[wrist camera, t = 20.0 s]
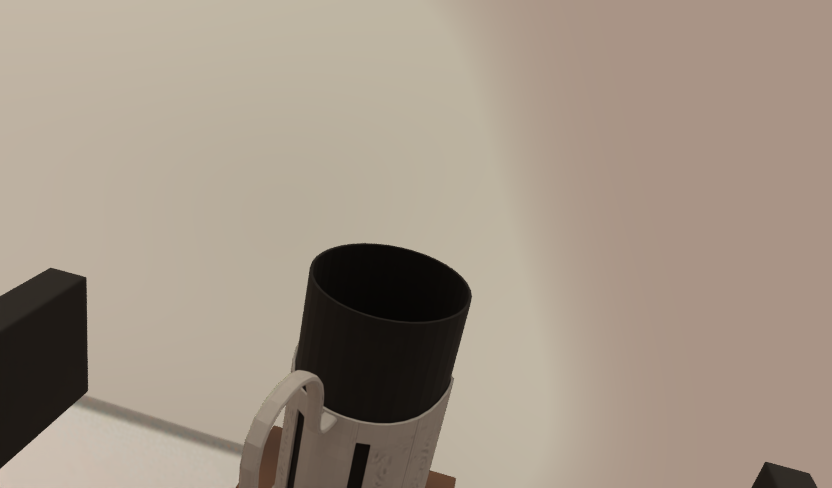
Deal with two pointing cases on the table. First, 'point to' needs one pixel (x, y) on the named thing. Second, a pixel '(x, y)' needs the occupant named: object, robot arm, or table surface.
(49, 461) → the table surface
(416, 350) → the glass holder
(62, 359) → the robot arm
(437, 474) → the miniature coffee table
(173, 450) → the table surface
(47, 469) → the table surface
